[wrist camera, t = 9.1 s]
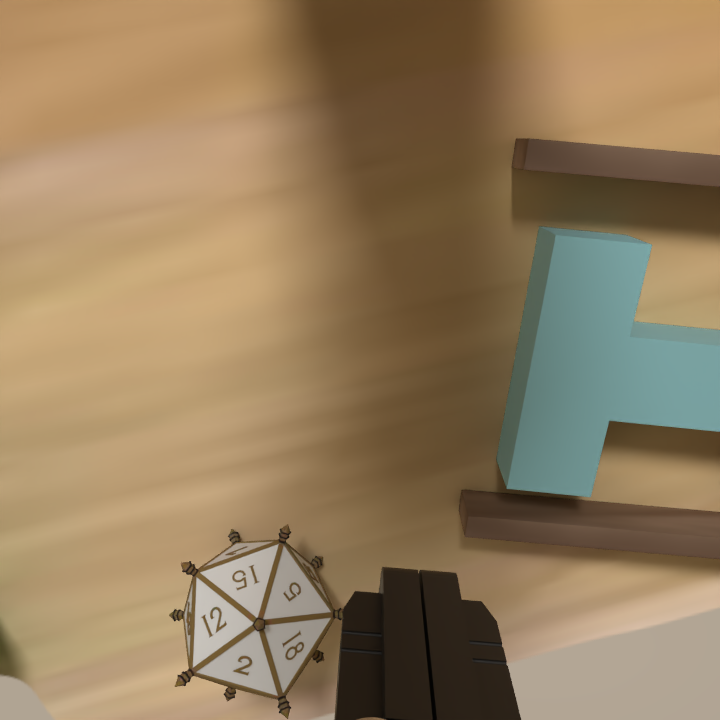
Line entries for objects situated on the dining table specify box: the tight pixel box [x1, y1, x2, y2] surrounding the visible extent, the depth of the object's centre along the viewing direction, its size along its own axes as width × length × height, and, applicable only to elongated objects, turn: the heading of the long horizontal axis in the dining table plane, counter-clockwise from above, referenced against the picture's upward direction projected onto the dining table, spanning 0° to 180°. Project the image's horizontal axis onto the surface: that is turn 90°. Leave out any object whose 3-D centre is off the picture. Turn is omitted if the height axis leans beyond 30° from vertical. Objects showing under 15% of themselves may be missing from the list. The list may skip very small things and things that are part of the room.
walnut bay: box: [459, 139, 720, 559], centre depth 30 cm, size 19×15×2 cm
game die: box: [169, 524, 343, 719], centre depth 32 cm, size 9×8×10 cm
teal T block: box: [496, 226, 720, 497], centre depth 30 cm, size 12×11×3 cm
